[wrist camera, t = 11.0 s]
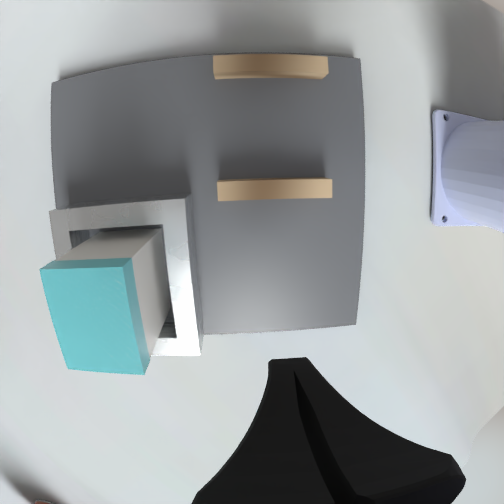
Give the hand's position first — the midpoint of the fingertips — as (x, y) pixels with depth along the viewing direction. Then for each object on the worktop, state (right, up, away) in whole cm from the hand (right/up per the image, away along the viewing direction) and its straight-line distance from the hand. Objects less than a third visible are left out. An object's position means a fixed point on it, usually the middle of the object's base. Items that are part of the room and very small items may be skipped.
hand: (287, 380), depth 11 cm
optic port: (-8, +3, +8) cm, 12 cm away
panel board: (-4, +8, +8) cm, 12 cm away
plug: (-8, +3, +8) cm, 12 cm away
